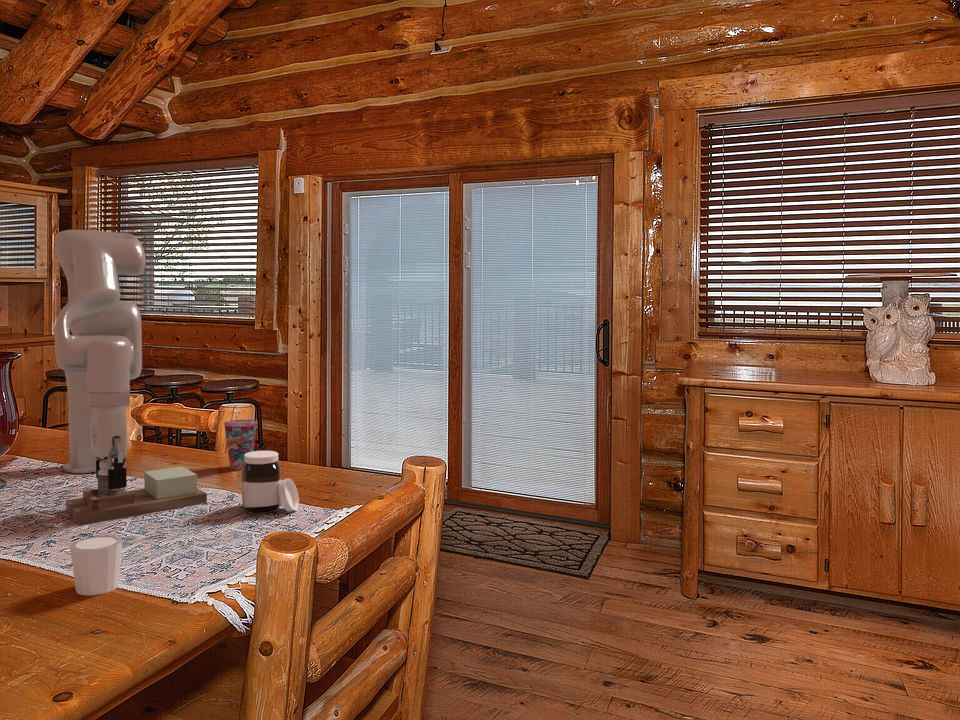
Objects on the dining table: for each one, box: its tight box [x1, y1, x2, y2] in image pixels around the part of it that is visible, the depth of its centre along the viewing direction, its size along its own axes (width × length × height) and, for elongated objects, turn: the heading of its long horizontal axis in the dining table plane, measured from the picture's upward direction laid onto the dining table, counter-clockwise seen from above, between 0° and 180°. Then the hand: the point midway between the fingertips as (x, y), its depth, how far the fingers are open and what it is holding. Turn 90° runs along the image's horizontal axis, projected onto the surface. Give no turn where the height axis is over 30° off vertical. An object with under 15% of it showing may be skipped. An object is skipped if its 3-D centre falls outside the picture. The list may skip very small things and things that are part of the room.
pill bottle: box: [97, 459, 124, 498], centre depth 138 cm, size 5×5×8 cm
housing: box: [65, 487, 208, 526], centre depth 142 cm, size 12×24×4 cm, turn 132°
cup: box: [223, 419, 259, 471], centre depth 175 cm, size 9×8×12 cm
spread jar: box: [241, 450, 300, 514], centre depth 142 cm, size 12×11×12 cm
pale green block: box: [143, 466, 198, 499], centre depth 146 cm, size 9×8×4 cm
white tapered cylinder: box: [69, 535, 123, 596], centre depth 102 cm, size 7×7×7 cm
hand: (111, 482), depth 138 cm, fingers open, 9 cm apart
